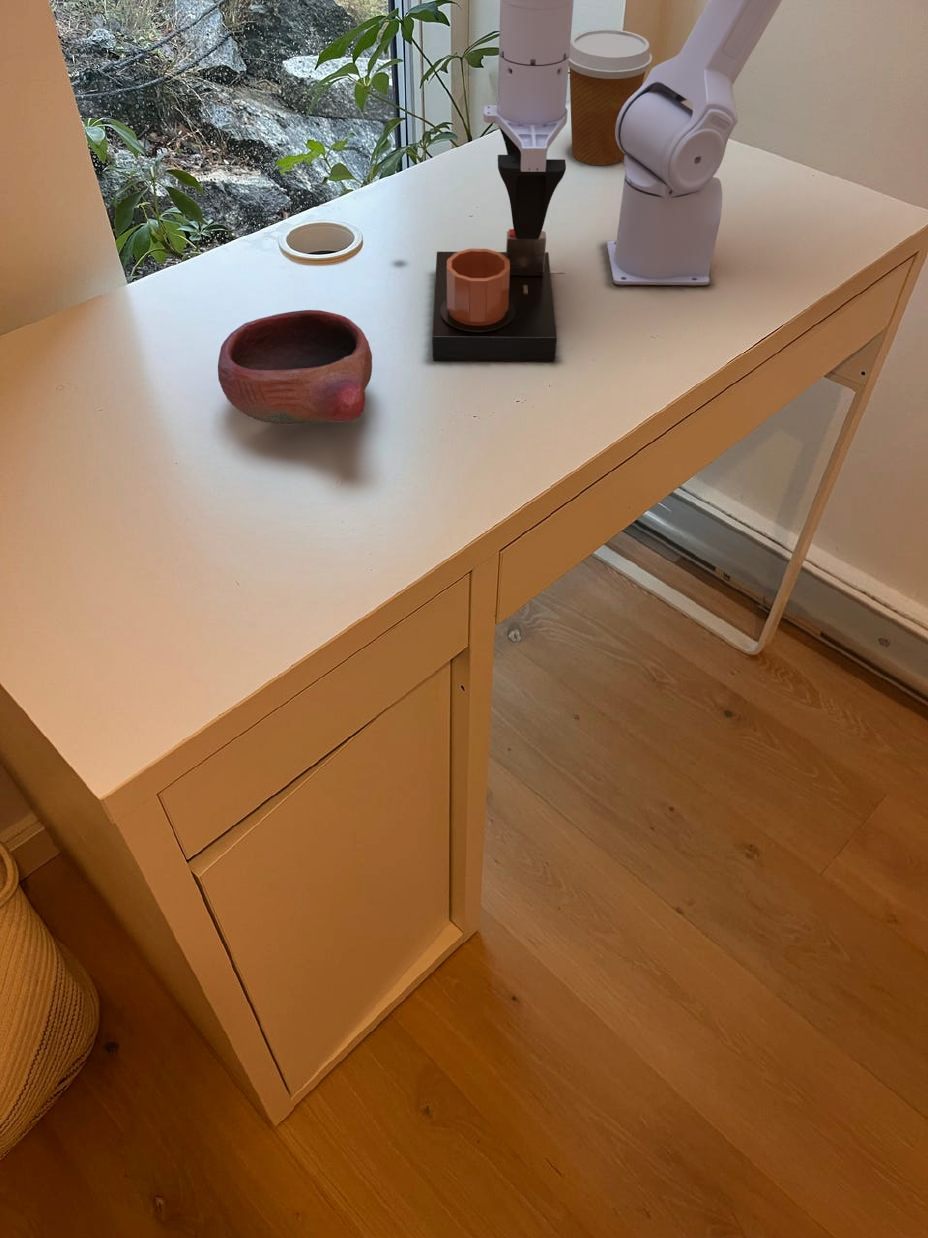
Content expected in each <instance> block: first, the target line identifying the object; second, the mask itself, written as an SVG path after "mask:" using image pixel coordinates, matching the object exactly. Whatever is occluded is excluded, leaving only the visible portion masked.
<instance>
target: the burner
mask: <svg viewBox="0 0 928 1238" xmlns="http://www.w3.org/2000/svg"><path fill="white" fill-rule="evenodd" d="M440 315H441V318H442V319H443V321H444V322H445V323H446V324H447V325H449V326H450V327H452V328H454V329H457V330H460V331H463V332H469V333H487V332H493V331H496V330H499V329H502V328H504V327H505V326H507V325H508V324H509V323H511V321H512V320H513V318H514V316H515V308H514V306H513V304H512V303H511V302H510V301H509V302H508V310H507V311H506V314H505V316H504V317H503V318H502V319H501V320H499V321H498V322H496V323H493V324H490V325H485V326H471V325H466V324H463V323H460V322H458V321H456V320H455V319H454V318H452V316H451V315H450V313H449V311H448V310H447V299H446V300H445V301H444V302H443V304H442V305H441V308H440Z"/></svg>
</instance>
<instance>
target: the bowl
mask: <svg viewBox="0 0 928 1238" xmlns="http://www.w3.org/2000/svg"><path fill="white" fill-rule="evenodd" d="M372 373H373V354H372V350H371V347H370V343H369V340H368V339H367V337H366V335H365V333H364V331H363V329H361V327H359V326H358V325H357V324H356V323H355V322H353V321H352V319H349V318H348V317H346V316H344V315H342V314H338V313H334V312H329V311H326V310H325V311H324V310H320V309H303V310H294V311H288V312H283V313H282V312H281V313H277V314H273V315H269V316H265V317H261V318H257V319H254V320H251V321H248V322H245V323H243V324H242V325H240V326H239V327H237V328H236V329H235V330H233V331H232V332H231V333H230V334H229V335H228V336H227V337H226V339H224V341H223V343H222V344H221V346H220V350H219V355H218V361H217V376H218V382H219V384H220V387H221V389H222V392H223V394H224V395H225V397H226V399H227V401H228V402H229V403H230V404H231V405H232V406H233V407H234V408H235V409H236V410H238V411H239V412H240V413H242V414H243V415H245V416H247V417H249V419H252V420H256V421H259V422H262V423H266V424H271V425H301V424H302V425H303V424H309V423H316V422H333V423H334V422H335V423H336V422H349V421H353V420H355V419H357V418H358V417H360V416H361V415H362V414H363V412H364V408H365V403H366V394H365V391H366V389H367V387H368V385H369V384H370V381H371V378H372V375H373V374H372Z"/></svg>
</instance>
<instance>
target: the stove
mask: <svg viewBox="0 0 928 1238" xmlns="http://www.w3.org/2000/svg"><path fill="white" fill-rule="evenodd" d="M456 252H457V251H436V258H435V259H436V260H435V279H434V295H433V296H434V298H433V316H432V332H431V333H432V335H431V338H432V360H433V361H435V362H436V361H438V362H439V361H440V362H442V361H443V362H444V361H446V362H545V363H547V362H553V363H554V362H555V361H556V352H557V351H556V350H557V342H558V341H557V338H558V336H557V326H556V316H555V307H554V297H553V296H554V295H553V286H552V276H551V275H566V270H551V265H550V264H551V263H550V256H549V252H547V251H545V263H544V275H543V276H510V279H509V301H510V302H511V303H512V304H513V306H514V308H515V316H514V318H513V320H512V321H511V323H509V324H508V325H507V326H505V327H504V328H502V329H499V330H496V331H493V332H487V333H469V332H463V331H460V330H457V329H454V328H452V327H450V326H449V325H447V324H446V323H445V322H444V321H443V319H442V318H441V315H440V308H441V305H442V304H443V302H444V301H445V300H446V299H447V260H448V259H449V258H450V257H451V256H452V255H453V254H455V253H456ZM498 252H499V253H501V254H503V255H504V256H505V257H506V251H498Z"/></svg>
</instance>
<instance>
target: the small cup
mask: <svg viewBox="0 0 928 1238" xmlns="http://www.w3.org/2000/svg"><path fill="white" fill-rule="evenodd" d="M455 252H456V253H455V254H453V255H452V256H451V257H450V258H449V259H448V260H447V310H448V311H449V313H450V315H451V316H452V318H454V319H455V320H456V321H458V322H460V323H463V324H466V325H471V326H485V325H490V324H493V323H496V322H498V321H499V320H501V319H502V318H503V317H504V316H505V314H506V311H507V310H508V302H509V279H510V261H509V260H508V259H507V258H506V257H505V256H504V255H503V254H501V253H499V252H500V251H496V250H492V249H489V248H467V249H463V250H461V251H460V250H459V251H455Z"/></svg>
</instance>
